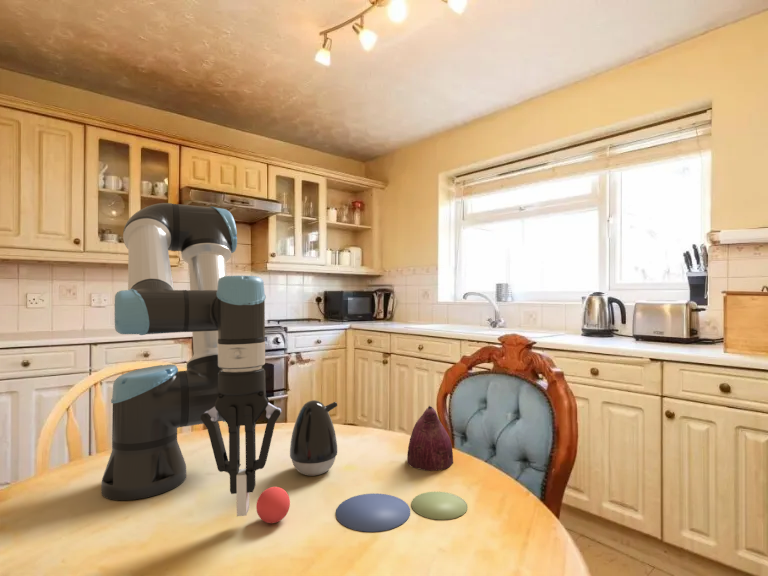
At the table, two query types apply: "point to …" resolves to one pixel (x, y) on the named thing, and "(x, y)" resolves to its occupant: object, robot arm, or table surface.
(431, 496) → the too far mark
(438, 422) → the vegetable
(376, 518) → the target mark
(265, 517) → the ball
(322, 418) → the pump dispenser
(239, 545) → the table surface
